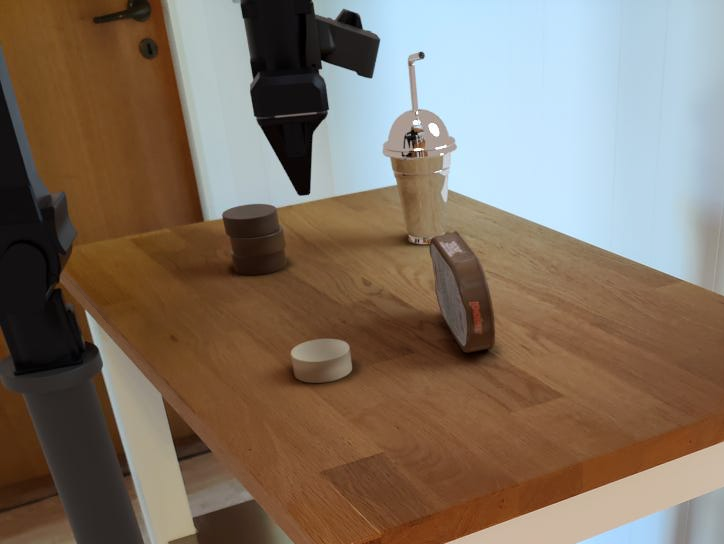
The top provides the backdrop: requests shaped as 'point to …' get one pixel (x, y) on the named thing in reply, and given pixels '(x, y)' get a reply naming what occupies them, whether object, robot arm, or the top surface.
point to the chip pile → (255, 239)
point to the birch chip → (321, 360)
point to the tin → (463, 292)
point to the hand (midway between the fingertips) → (302, 182)
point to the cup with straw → (421, 166)
